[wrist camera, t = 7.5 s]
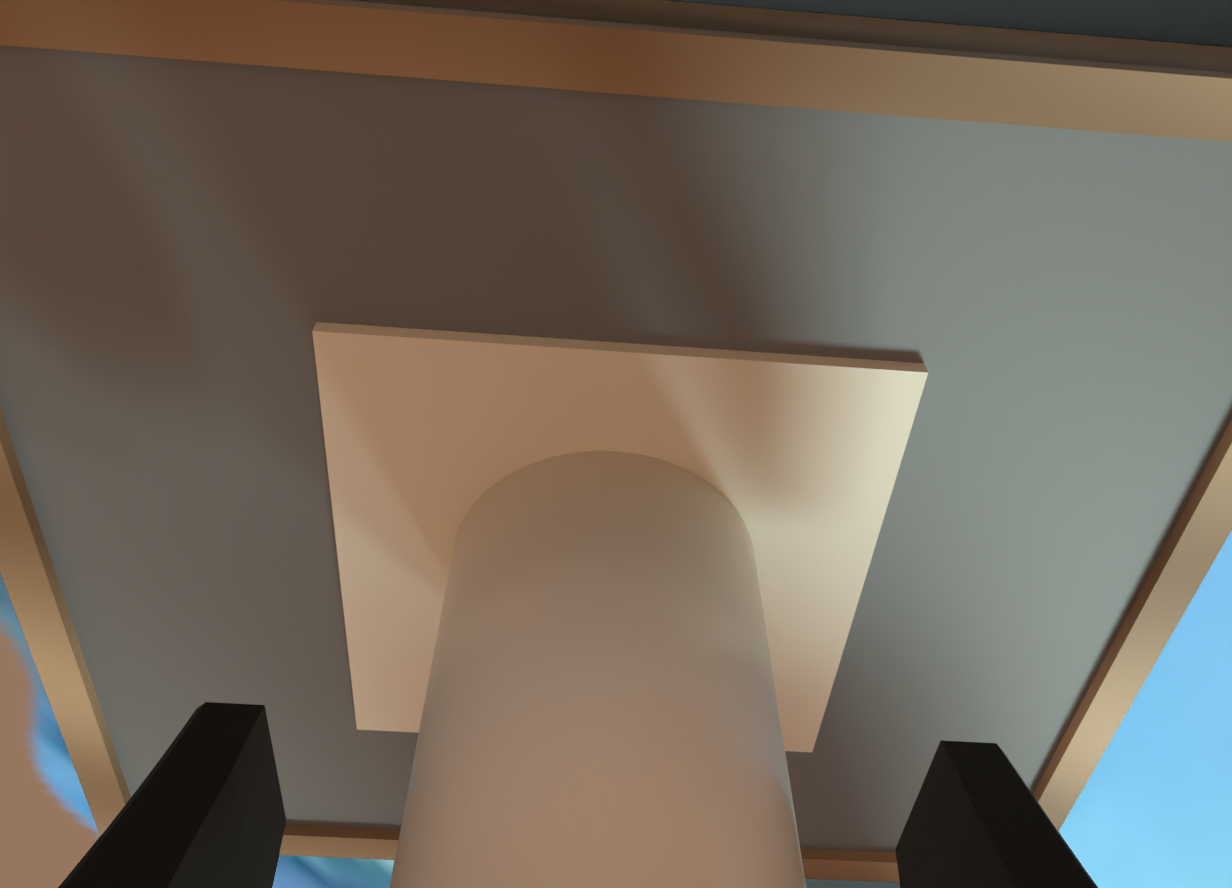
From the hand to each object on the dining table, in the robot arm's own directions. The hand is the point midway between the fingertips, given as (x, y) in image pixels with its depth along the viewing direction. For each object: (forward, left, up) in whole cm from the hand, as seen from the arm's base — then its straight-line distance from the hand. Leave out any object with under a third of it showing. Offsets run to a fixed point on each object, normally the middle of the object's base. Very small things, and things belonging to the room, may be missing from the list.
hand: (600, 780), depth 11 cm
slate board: (0, 0, -4) cm, 4 cm away
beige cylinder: (0, 0, -3) cm, 3 cm away
